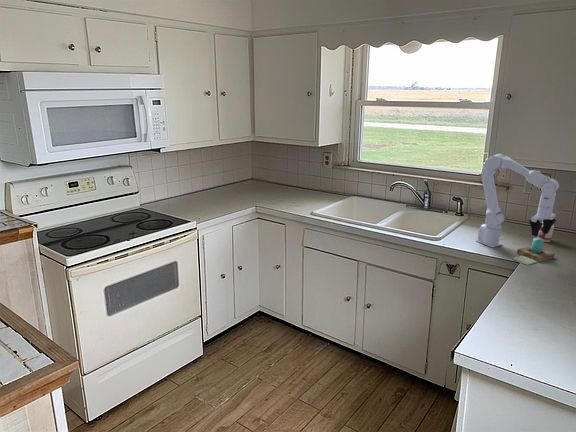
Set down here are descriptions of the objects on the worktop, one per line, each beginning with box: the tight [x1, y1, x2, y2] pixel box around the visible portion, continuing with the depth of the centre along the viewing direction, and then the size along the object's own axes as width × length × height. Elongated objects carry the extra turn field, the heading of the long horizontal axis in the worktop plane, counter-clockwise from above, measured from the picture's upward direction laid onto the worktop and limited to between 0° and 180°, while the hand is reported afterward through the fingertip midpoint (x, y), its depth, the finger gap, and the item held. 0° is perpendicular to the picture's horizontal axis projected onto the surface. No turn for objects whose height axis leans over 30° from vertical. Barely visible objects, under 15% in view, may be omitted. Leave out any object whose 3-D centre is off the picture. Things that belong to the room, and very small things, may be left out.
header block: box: [516, 245, 556, 263], centre depth 204 cm, size 11×11×2 cm
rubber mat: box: [512, 255, 538, 266], centre depth 198 cm, size 7×7×1 cm
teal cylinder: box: [531, 237, 545, 254], centre depth 203 cm, size 4×4×8 cm
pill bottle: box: [536, 220, 555, 243], centre depth 222 cm, size 6×6×11 cm
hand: (539, 234), depth 201 cm, fingers open, 7 cm apart
